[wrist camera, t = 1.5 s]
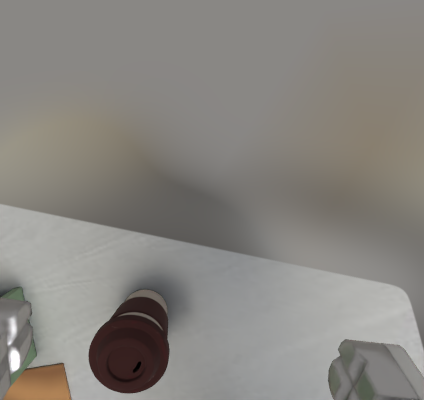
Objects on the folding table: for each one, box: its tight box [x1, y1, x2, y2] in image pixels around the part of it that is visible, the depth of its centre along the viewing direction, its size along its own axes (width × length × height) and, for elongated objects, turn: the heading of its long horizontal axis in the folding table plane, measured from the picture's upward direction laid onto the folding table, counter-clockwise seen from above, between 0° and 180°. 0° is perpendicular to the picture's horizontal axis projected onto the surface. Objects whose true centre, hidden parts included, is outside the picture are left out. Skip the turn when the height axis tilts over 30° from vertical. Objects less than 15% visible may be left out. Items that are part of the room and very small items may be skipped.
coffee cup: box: [89, 290, 169, 393], centre depth 47 cm, size 10×10×15 cm
